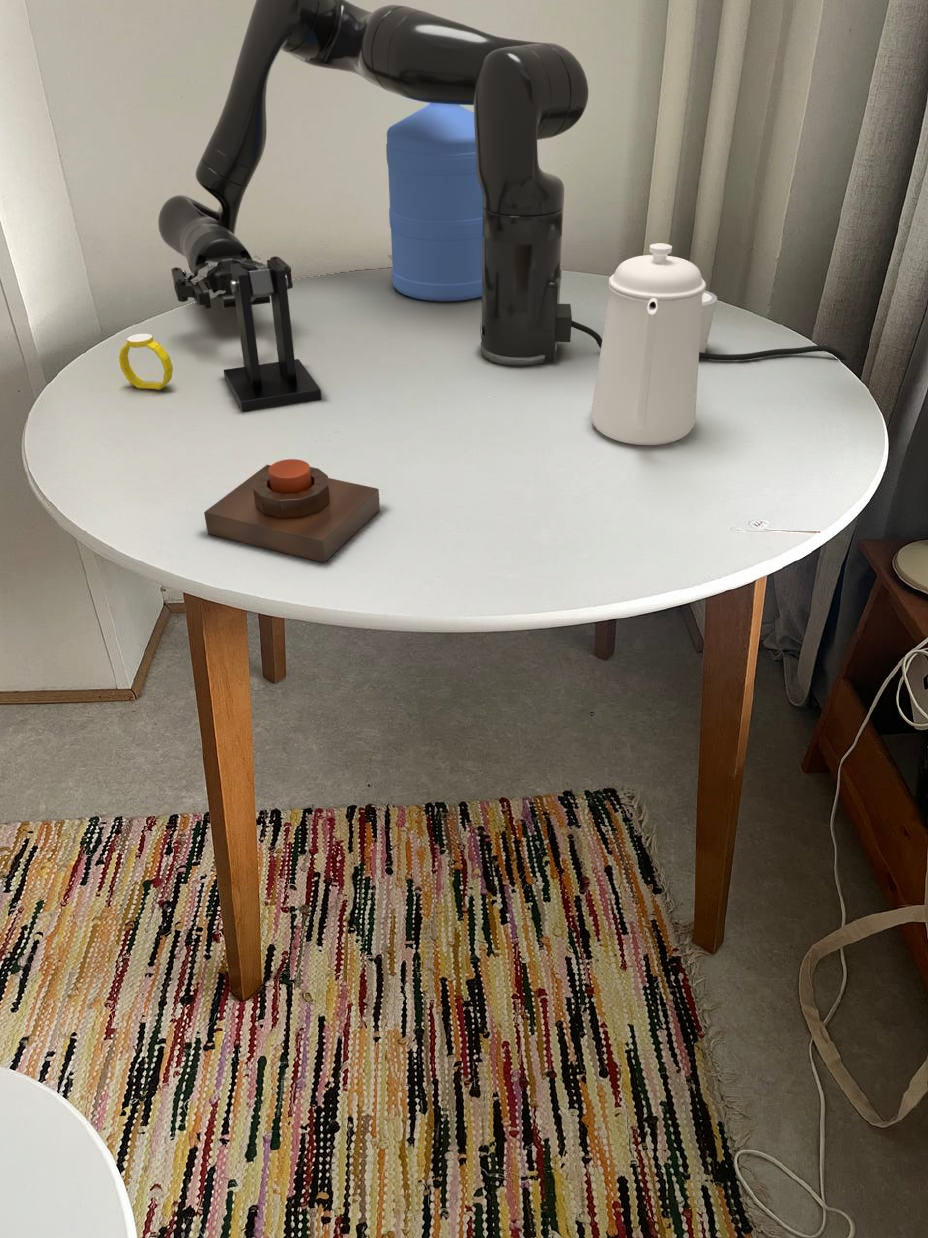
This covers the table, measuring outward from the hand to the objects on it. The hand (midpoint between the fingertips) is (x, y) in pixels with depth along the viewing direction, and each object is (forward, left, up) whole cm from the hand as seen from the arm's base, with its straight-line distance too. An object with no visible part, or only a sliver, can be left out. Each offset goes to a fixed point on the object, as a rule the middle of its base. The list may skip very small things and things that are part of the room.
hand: (243, 295), depth 119 cm
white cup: (-53, -8, -8) cm, 54 cm away
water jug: (-20, -30, -8) cm, 37 cm away
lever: (-4, +6, +1) cm, 7 cm away
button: (-17, +39, -4) cm, 42 cm away
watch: (+8, +11, -8) cm, 16 cm away
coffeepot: (-48, +15, -8) cm, 50 cm away
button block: (-17, +39, -7) cm, 43 cm away
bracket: (-6, +10, -7) cm, 14 cm away
